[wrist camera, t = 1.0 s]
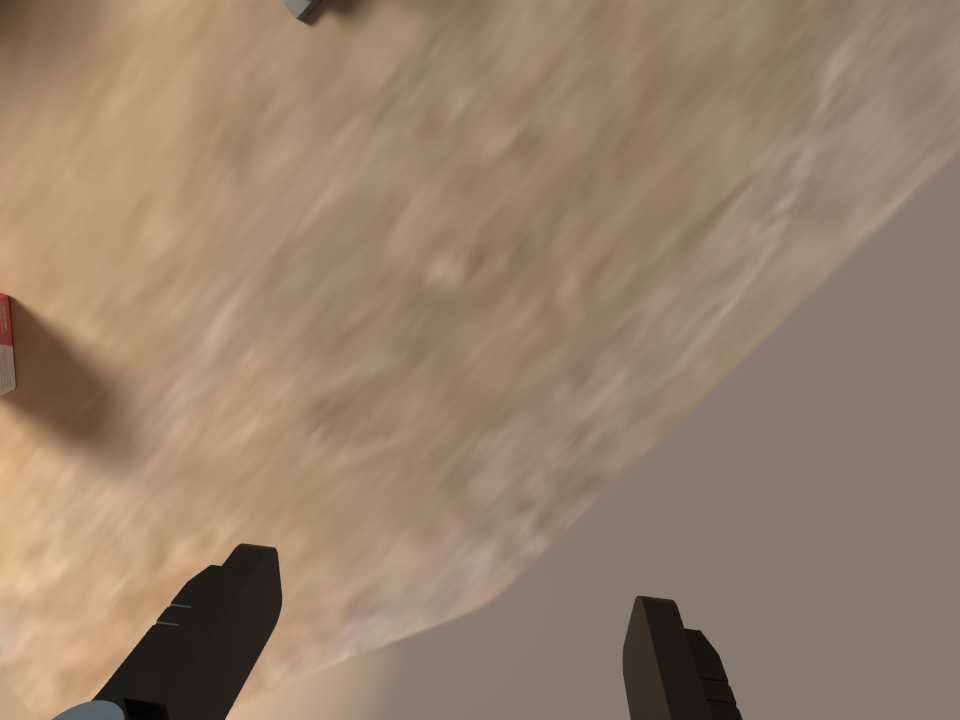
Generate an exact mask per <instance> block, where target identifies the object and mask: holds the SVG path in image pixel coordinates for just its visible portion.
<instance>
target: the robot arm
mask: <svg viewBox="0 0 960 720" xmlns="http://www.w3.org/2000/svg"><path fill="white" fill-rule="evenodd" d="M281 606H282V590H281V580H280V571H279V561H278V553H277V550H276V548H274V547H267V546H259V545H251V544H243V543H242V544H240V545H238V546H237V547H236V548H235V549H234V550H233V552H232V553H231V555H230V556H229V557H228V559H227V560H226V561H225V563H224V564H223V565H222V566H216V565H210V566H209V567H207V568H206V569H205V570H203V571H202V572H200V573H199V574H198V575H196V576H195V577H193V578H192V579H191V580H189V581H188V582H187V583H186V584H185V586H184V587H183V588H182V589H181V591H180V592H179V593H178V594H177V596H176V597H175V598H174V599H173V601H172V602H171V605H170V607H167V608H166V609H165V611H164V612H163V613H162V614H161V616H160V617H159V618H158V619H157V622H156V624H155V625H153V626H152V627H151V628H150V629H149V631H148V632H147V633H146V634H145V636H144V637H143V638H142V639H141V641H140V642H139V643H138V644H137V646H136V647H135V648H134V649H133V651H132V652H131V653H130V654H129V656H128V657H127V658H126V659H125V661H124V662H123V663H122V664H121V666H120V667H119V668H118V669H117V671H116V672H115V673H114V674H113V676H112V677H111V678H110V679H109V681H108V682H107V683H106V684H105V686H104V687H103V688H102V689H101V691H100V692H99V693H98V694H97V695H96V696H95V697H94V699H92V700H91V701H90V702H86V703H82V704H79V705H77V706H74V707H72V708H70V709H68V710H66V711H64V712H62V713H61V714H59V715H58V716H56V717H55V718H53V719H52V720H225V718H226V716H227V715H228V713H229V711H230V709H231V707H232V706H233V704H234V702H235V700H236V698H237V696H238V694H239V693H240V691H241V689H242V687H243V685H244V683H245V682H246V680H247V678H248V676H249V674H250V672H251V670H252V669H253V667H254V665H255V663H256V661H257V659H258V658H259V656H260V654H261V652H262V650H263V648H264V646H265V645H266V643H267V641H268V639H269V637H270V635H271V634H272V632H273V630H274V628H275V626H276V624H277V621H278V618H279V615H280V611H281ZM623 676H624V682H625V688H626V694H627V700H628V706H629V712H630V718H631V720H742V717H741V714H740V712H739V709H737V707H736V701H735V698H734V695H733V692H732V690H731V687H730V686H729V685H728V679H727V676H726V673H725V670H724V668H723V665H722V662H721V659H720V657H719V654H718V653H717V652H716V650H715V649H714V648H713V647H712V645H711V644H710V643H709V641H708V640H707V639H706V637H705V636H704V635H703V634H702V632H701V631H699V630H691V629H684V626H683V623H682V620H681V617H680V614H679V610H678V607H677V605H676V603H675V601H673V600H669V599H661V598H653V597H645V596H637V597H636V599H635V602H634V606H633V610H632V614H631V618H630V622H629V626H628V630H627V634H626V638H625V642H624V647H623Z"/></svg>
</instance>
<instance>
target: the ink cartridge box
mask: <svg viewBox="0 0 960 720" xmlns="http://www.w3.org/2000/svg"><path fill="white" fill-rule="evenodd" d="M15 388H16V382H15V369H14V357H13V345H12V333H11V320H10V309H9V300H8V296H7V295H3V294H0V396H2V395H4V394H6V393H9V392H10V391H12V390H14V389H15Z"/></svg>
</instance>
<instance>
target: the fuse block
mask: <svg viewBox="0 0 960 720" xmlns="http://www.w3.org/2000/svg"><path fill="white" fill-rule="evenodd" d="M282 1H283V2H284V3H285V5H286V6H287V7H288V8H289V10H290V11H291V12H292V14H293V15H294V16H295V18H296V19H298V20H300V21H301V22H302V21H303V20H304V19H305V18H306V17H307V16H308V15H309V13H310V12H311V11H312V10H313V9H314V8H315V7H316V6H317V5H318V4H319V3H320V2H321V1H322V0H282Z"/></svg>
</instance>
